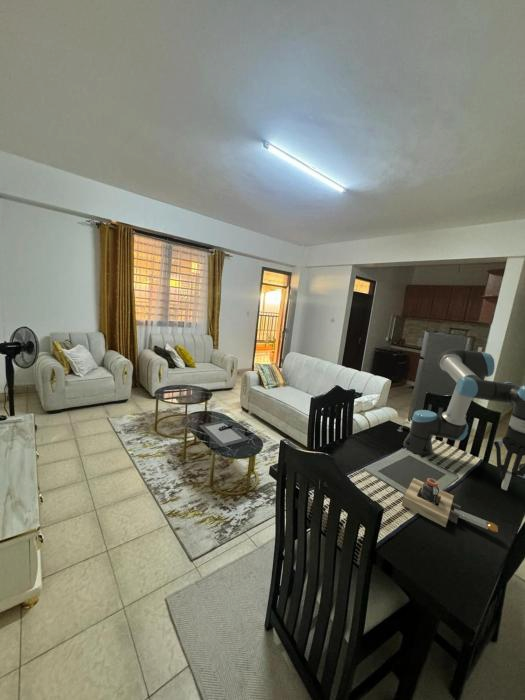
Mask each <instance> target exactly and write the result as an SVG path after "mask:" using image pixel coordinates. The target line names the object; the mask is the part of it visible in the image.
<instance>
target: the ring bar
mask: <svg viewBox="0 0 525 700" xmlns="http://www.w3.org/2000/svg"><path fill="white" fill-rule="evenodd" d="M454 511H455V512H457V513H459V517H458V519H462V520H464V521H466V522H469V523H471V524H473V525H476V526H479V527H481V528H484V529H486V530H488V531H490V532H492V533H498V531H499V526H498V525H497V524H495V523H493V522H490V521H488V520H485V519H482V518H480V517H478V516H476V515H473V514H470V513H468V512H465V511H463V510H461V509H460V510H458V509H456V508H455V509H454Z"/></svg>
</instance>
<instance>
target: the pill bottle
mask: <svg viewBox="0 0 525 700" xmlns="http://www.w3.org/2000/svg"><path fill="white" fill-rule="evenodd" d="M423 482H424V484H423V487H422V491H421V496H420V495H419V497H420V498H422V499H424V500H426V501H428V502H430V503H432V504H435V505H436V504H437V503H436V501H437V497H438V493H439V487H438V485H439V483H438V482H439V481H437V480H436V479H434V478H430V477H428V478H427V479H426V481H423Z"/></svg>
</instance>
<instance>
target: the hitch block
mask: <svg viewBox="0 0 525 700" xmlns="http://www.w3.org/2000/svg"><path fill="white" fill-rule="evenodd" d="M424 482H425V481H422V480H419V479H418V478H417V479H416V478H415V477H413V479H412V480H411V482H410V484H409V486H408V488H407V490H406V492H405V493H404V495H403V496H402V497H403V499H402V503H401V505H402V506H403V507H404V508H407V509H408V510H411V511H412V510H413V512H414V511H415V512H414V513H416V512H417V513H416V514H418V513H419V514H418V515H421V516H423V517H424V518H427V519H428V520H430V521H432V522H434V523H436V524H438V525H440V526H442V527H444V528H447V524H448V521H450V522H452V523H454V524H458V520H459V513H457V512H455V511H454V509H455V508H456V509H458V510H461V505H459V504H457V503H454V502H453V500H454V497H455V495H453V494H451V493H448V492H447V491H444V490H441V489H439V493H438V497H437V501H436V504H437V505H435V504H432V503H430V502H428V501H426V500H424V499H422V498H420V495H421V491H422V487H423V484H424Z"/></svg>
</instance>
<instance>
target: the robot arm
mask: <svg viewBox="0 0 525 700" xmlns="http://www.w3.org/2000/svg"><path fill="white" fill-rule="evenodd" d="M437 364H438V366H439V368H440V369H441V370H442V371H443V372H445V373H447V374H448V375H449V376H450V377H451V378H452V379H453V380H454V382H455V383H456V385H455V388H454V390H453V393H452V395H451V399H450V400H449V404H448V406H447V409H446V411H443V412H442V413H441V415H438V413H436V412H434V411H431V410H426V409H419V410H416V411H414V412H413V415H412V418H411V423H410V424H411V425H410V429H409V433H408V434H407V436H406V438H405V439H404V441H403V447H404V448H405V449H406V450H408V451H410V452H411V453H414V454H417V455H419V456H426V457H427V456H431V455H432V454H433V451H434V449H433V443H432V438H433V437H437V438H443V439H449V440H452V441H457V442H459V441H463V440H464V439H465V438H466V437H467V435H468V434H469V433H468V430H469V425H468V423H467V420H466V418H465V417H466V415H467V412H468V410H469V407H470V405H471V402H472V400H473V399H479V400H486V401H490V402H497V403H502V404H507V405H510V406H512V407H513V410H512V412H511V415H510V419H509V423H508V426H507V429H506V432H505V436H504V437H502V439H498V440H497V439H494V440H493V445H494V447H495V451H496V452H495V453H496V467H497V469H500V470H501V472H500V479H501V480H502V482H501V489H502V490H504V491H508V488H509V486H510V483H511V484H513V483H515V479H516V477H517V476H519V477H524V476H525V463H524V464H523V465H521V462H522V459H523V456H525V385H519V384H518V383H516V382H515V383H514V382H511V381H505V382H501V381H499V382H498V381H493V380H487V379H486V378H487V377H492V375H493V374H494V372H495V365H496V364H495V359H494V357H493V355H492V354H490V353H488V352H482V351H474V350H468V349H467V350H466V349H459V348H453V349H448V350H445V351H444V352H442V353H441V354H440V355H439V357H438V360H437ZM485 379H486V380H485ZM503 445H504V448H505V449H506V451H507V453H506V455H505V458H504V462H503V464H502V453H501V447H503ZM514 454H515V456H516V457H515V459H514V462H513V465H512V469H511V470H509V466H510V463H511V459H512V457H513V455H514ZM520 465H521V467H520Z"/></svg>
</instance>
